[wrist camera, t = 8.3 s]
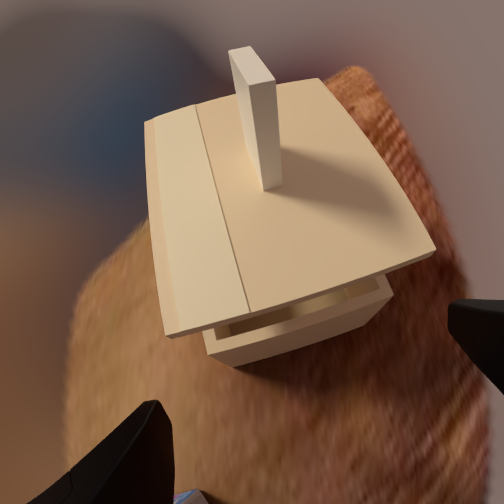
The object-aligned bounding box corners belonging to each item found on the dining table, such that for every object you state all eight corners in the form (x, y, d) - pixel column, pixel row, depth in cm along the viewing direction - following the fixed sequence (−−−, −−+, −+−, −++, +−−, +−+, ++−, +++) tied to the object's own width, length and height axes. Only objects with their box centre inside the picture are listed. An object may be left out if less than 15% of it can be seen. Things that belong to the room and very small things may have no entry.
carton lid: (430, 256, 11) (499, 162, 6) (171, 339, 10) (78, 282, 5) (317, 85, 16) (318, 4, 11) (147, 129, 16) (112, 51, 11)
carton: (364, 325, 21) (393, 294, 15) (232, 367, 21) (207, 354, 14) (309, 197, 26) (312, 138, 20) (199, 228, 26) (173, 176, 20)
